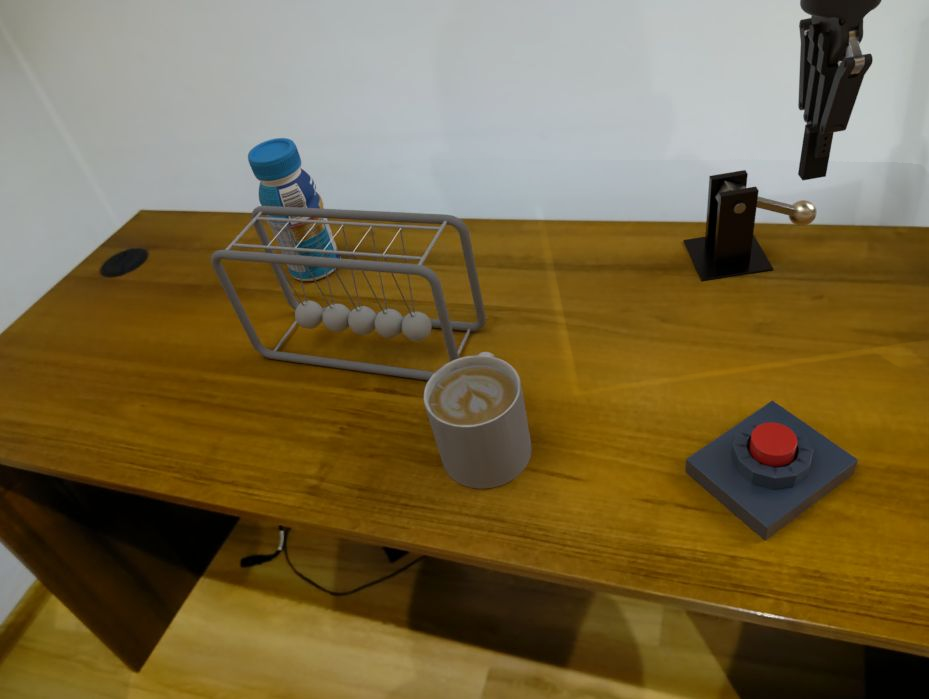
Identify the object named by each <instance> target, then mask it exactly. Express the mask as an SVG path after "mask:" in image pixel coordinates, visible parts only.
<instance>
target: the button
mask: <svg viewBox="0 0 929 699" xmlns="http://www.w3.org/2000/svg"><path fill="white" fill-rule="evenodd" d="M796 447H797V437H796V435H795V434H794V432H793V431H792V430H791V429H789V428H788V427H786V426H784V425H782V424H779V423H763V424H761V425H759V426H757V427H756V428H755V429H754V430H753V432H752V434H751V440H750V452H751V454H752V456H753V457H754V458H755V459H756V460H757V461H758V462H760V463H762V464H764V465H767V466H771V467H780V466H784V465H787V464H788V463H790V462H791V461H792V460H793V458H794V456H795V452H796Z"/></svg>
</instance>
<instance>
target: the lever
mask: <svg viewBox="0 0 929 699" xmlns="http://www.w3.org/2000/svg"><path fill="white" fill-rule="evenodd" d="M744 188H747V186H746V187H745V186H744V185H740V184H736V183H732V182H728V181H724V182H723V184H722V186H721V188H720V189H719V191H718V193H717V195H716V196H715V197H716V199H717V201H718V198H719V192H725V191H731V190H738V189H744ZM757 208H758V209H761V210H766V211H769V212H773V213H777V214H780V215H781V214H782V215H786V216H788V219H789V221H790V222H791V223H792V224H793V225H795V226H798V227H806V226H808V225H810V224H812V223H813V222H814V221H815V219H816V217H817V214H818V213H817V207H816V205H815V204H814V203H813V202H811V201H809V200H806V199H802V200H801V199H800V200H797V201H795V202H794V203H792V204H789V203H787V202H782V201H777V200H774V199H770V198H767V197H766V198H765V197H761V196H758V200H757ZM757 208H756V209H757Z"/></svg>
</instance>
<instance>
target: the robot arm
mask: <svg viewBox="0 0 929 699" xmlns="http://www.w3.org/2000/svg"><path fill="white" fill-rule="evenodd" d="M881 2H882V0H799V5H800V9H801V10H802V11H803V12H804V13H806V14H807V15H808V16H810V17H808V18H804V19H803V18H802V19H800V20H799V23H798V28H799V39H800V53H799V75H798V76H799V78H798V79H799V80H798V102H797V104H798V105H797V106H798V110H799V111H803V115H802V116H803V117H802V118H803V122H805V123H806V124H805V126H804V132H803V138H802V145H801V151H800V159H799V165H798V172H797V175H798V177H799V178H800V179H801V181H809V180H814V179H820V178H826V177H827V171H828V165H829V161H830V156H831V150H832V144H833V138H834V133H837V132H844V131H847V128H848V125H849V122H850V119H851V117H852V113H853V110H854V107H855V104H856V101H857V99H858V95H859V92H860V89H861V86H862V84H863V81H864V77H865V75H866V74H867V72H868V71H869V70H870V68H871V66H872V64H873V55H872V53H865V54H863V52H862V49H861V45H860V44H861V43H862V40H863V38H864V19H865V17H866V16H867V15H868V14H869V13H870V12H871V11H873V10H875V9H876V8H877V7H879V5H880V4H881Z"/></svg>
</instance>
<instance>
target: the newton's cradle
mask: <svg viewBox="0 0 929 699" xmlns="http://www.w3.org/2000/svg"><path fill="white" fill-rule="evenodd" d="M265 215H277V216H296V217H314V218H327V219H333V220H328V221H321V220H303V219H284V218H266V217H265ZM250 218H251V221H249V223H248V224H247V225H246V226H245V227H244V228H243V229H242V231H240V232H239V234H238V235H237V236H236V237H235V238H234V239H233V240H232V242H230V243H229V245H227V247H226V248H225V249H218V250H215V251H214V252H213V253H212V254H211V257H210V265H211V267H212V269H213V271H214V273H215V275H216V277H217V279H218V281H219V283H220V285H221V287H222V289H223V290H224V292H225V295H226V297H227V298H228V300H229V303H230V304H231V306H232V308H233V310H234V313H235V315H237V318H238V320H239V322H240V325H241V326H242V328H243V331H244V332H245V335H246V336H247V338H248V340H249V342H250V344H251V346H252V347H253V349H254V350H255V351H256V352H257V353H258V354H260V355H261V356H263V357H264V358H266V359H270V360H277V361H284V362H291V363H296V364H297V363H298V364H305V365H313V366H320V367H328V368H334V369H342V370H349V371H356V372H364V373H371V374H376V375H377V374H378V375H385V376H393V377H399V378H406V379H414V380H421V381H427V382H428V381H429V379H430V378H431V376H432V375H433V374H434V373H435V372H436V371H429V370H422V369H416V368H415V369H414V368H405V367H398V366H391V365H385V364H384V365H383V364H376V363H368V362H360V361H353V360H347V359H337V358H331V357H324V356H315V355H310V354H309V355H308V354H300V353H294V352H285V351H279V349H280V348H281V346H282V345H283V343H284V342H285V340H287V338H288V336H289V335H290V334H291V332H292V331H293V329H294V328H295V327H296V325H297V324H298V325H299V326H300V327H301V328H304V329H308V330H313V329H315V328H317V327H319V326H320V325H321V324H322V323H323V325H324V327H325V328H326V329H328V331H330V332H334V333H341V332H343V331H346V329H348V328H350V330H351V331H352V332H353V333H355V334H356V335H358V336H359V335H360V336H367V335H369V334H371V333H373V332H374V330H375V331H376V333H377V334H378V335H379V336H381V338H382V337H383V338H386V339H393V338H396V337H399V335H400V334H401V333H403V335H404V336H405V338H407V340H409V341H412V342H422V341H424V340H426V339H427V338H428V337H429V336H430V334H431V332H432V329H433V328H435V329H441V331H442V336H443V340H444V342H445V344H444V345H445V347H446V351H447V355H448V358H449V359H448V360H449V362H451V361H453V360H456V359H459V358H460V354H461V353H462V350H463V348H464V346H465V344H466V341H467V339H468V337H469V335H470V333H471V332H479V331H481V330H482V329H483V328H484V327H485V325H486V323H487V316H486V312H485V305H484V302H483V296H482V291H481V286H480V281H479V276H478V271H477V266H476V265H477V264H476V261H475V256H474V252H473V250H474V249H473V245H472V242H471V236H470V231H469V229H468V226H467V225H466V223H465V222H464V221H463V220H461V219H460V218H459V217H457V216H455V215H453V214H452V215H451V214H444V213H443V214H442V213H422V212H403V211H402V212H401V211H383V210H381V211H379V210H362V209H361V210H360V209H359V210H358V209H340V208H324V209H320V208H299V207H278V206H262V205H258V206H256V207H255V208H253V210H252V212H251V216H250ZM334 219H335V220H334ZM336 219H337V221H336ZM339 220H353V221H371V222H353V221H339ZM263 221H266V222H267V221H280V222H288V223H287V224H288V227H289V232H290V236H291V240H292V245H293V248H290V247H279V246H277V245H276V246H273V244H272V243H273V242H274V240H276V237H277V235H278V234H279V233H280V232H281V231H282V230H283V228H284V227H285V226H286V225H287V224H286V225H285V226H284V227H283V228H282V230H281V231H280V232H279V233H278V234H277V235H276V237H275V236H274V238H273V239H272V240H270V238H269V235H268V233H267V230H266V228H265V226H264V224H263ZM372 221H374V223H373V222H372ZM289 222H298V223H315V224H314V225H315V229H316V234H317V238H318V242H319V247H320V250H318V249H304V248H296V247H297V246H298V245H299V244H300V242H301V241H302V240H303V239H304V237H305V236H306V235H307V234H308V233H309V231H310V230H311V229H312V228H313V226H314V225H313V226H312V228H311V229H310V230H309V231H308V232H307V234H306V235H305V236H304V237H303V239H302V240H301V241H300V242H299V244H298V245H297V246H296V247H295V248H294V243H293V239H292V234H291V230H290V226H289ZM375 222H388V223H375ZM389 222H393V223H394V224H393V223H392V224H390V223H389ZM395 223H407V224H395ZM408 223H409V225H408ZM410 223H412V224H429V225H430V226H428V225H427V226H426V225H410ZM316 224H329V225H333V226H335V225H337V226H340V228H339V229H338V230H337V232H336V233H335V234H334V235H333V238H334V239H335V237H336V236H337V235H338V233H339V232H340V230H341V229H342V234H343V239H344V243H345V247H346V251H345V250H339V251H332V250H325V249H326V247H327V246H328V245H329V243H330V242H331V241H332V239H333V238H332V239H331V241H330V242H329V243H328V245H327V246H326V247H325V248H324V250H322V249H321V245H320V241H319V237H318V232H317V228H316ZM431 224H432V225H440V226H431ZM252 226H253V228H254V229H255V232H256V234H257V236H258V238H259V241H260V243H261V244H247V243H237V242H238V241H239V240H240V239H242V237H243V236H244V235H245V234H246V233H247V232H248V230H250V229H251V227H252ZM344 226H350V227H351V226H352V227H353V226H354V227H369V228H368V230H367V231H366V232H365V234H364V235H363V237H362V238H361V240H359V243H358V244H357V245H356V247H355V248H354V249H353V251H349V246H348V241H347V237H346V232H345V228H344ZM446 226H451V227H453V229H456V230H457V232H458V234H459V240H460V243H461V244H460V245H461V248H462V254H463V258H464V264H465V267H466V272H467V277H468V282H469V287H470V292H471V297H472V300H473V306H474V310H475V315H476V321H475V322H467V321H455V320H451V319H450V316H449V310H448V307H447V303H446V299H445V294H444V290H443V287H442V283H441V280H440V278H439V276H438V275H437V274H436V273H435V271H434V270H432V269H431V268H429V267H427V266H425V265H423V264H424V262H425V260H426V259H427V258H428V256H429V254H430V252H431V251H432V249H433V247H434V245H435V244H436V242H437V240H438V239H439V237H440V236H441V234H442V233H443V231H444V229H445V227H446ZM373 228H385V229H387V228H388V229H398V230H397V232H396V234H395V235H394V237H393V239H392V240H391V241H390V243H389V245H388V246H387V247H386V249H385V251H384V252H383V253H377V248H376V247H377V246H376V242H375V236H374V234H373V233H374V232H373ZM402 229H405V230H406V229H407V230H423V231H424V230H426V231H437V232H436V233H435V236H433V239H432V240H431V242H430V244H429V245H428V247H427V248H426V250H425V251H424V254H423V255H422V256H417V255H416V256H415V255H414V256H413V255H406V251H405V244H404V238H403V232H402ZM369 232H371V238H372V244H373V248H374V253H371V252H359V251H356V249H357V248H358V247H359V246H360V244H361V242H362V241H363V240H364V239H365V237H366V236H367V234H368V233H369ZM399 233H400V238H401V245H402V251H403V255H400V254H399V255H398V254H386V252H387V251H388V249H389V248H390V246H391V245H392V243H393V242H394V240H395V239H396V237H397V236H398V234H399ZM232 248H246V249H258V250H259V249H260V250H264V252H260V251H245V250H235V249H234V250H232ZM281 250H285V251H294V253H295V255H287V254H282V253H276V252H275V251H281ZM295 251H297V253H298V255H296V252H295ZM299 252H312V253H321V255H322V257H313V256H301V255H300V254H299ZM322 253H325V255H326V256H327V254H339V255H340V256H348V258H341V259H340V258H329V257H328V256H327V257H323V254H322ZM351 256H353V257H354V258H355V259H353V258H352V259H351ZM358 257H368V258H375V260H366V259H365V260H364V259H358ZM378 258H379V259H381V258H383V259H384V261H379V259H378ZM388 259H394V260H404V262H390V261H388ZM221 260H228V261H240V262H241V261H243V262H252V263H266V264H270V266H271V268H272V271H273V272H274V275H275V277H276V279H277V280H276V281H277V282H278V284H279V287H280V289H281V291H282V293H283V295H284V298H285V300H286V302H287V304H288V306H290V307H291V308H292V309H293V310H294V319H295V320H294V322H293V323H292V324H291V326H290V327H289V329H288V330H287V331H286V333H285V334H284V336H283V337H282V338H281V339H280V341H279V342H278V344H277V345H276V346H275V347H274V349H273V350H272V349H269V348H267V347H266V346H264V345H263V344H262V342H261V340H260V338H259V336H258V334H257V332H256V330H255V328H254V326H253V324H252V323H251V320H250V318H249V316H248V314H247V312H246V310H245V308H244V306H243V304H242V302H241V300H240V298H239V296H238V294H237V292H236V290H235V287H234V286H233V284H232V282H231V280H230V278H229V276H228V274H227V272H226V270H225V268H224V266H223V264H222V262H221ZM407 260H410V261H419V262H418V263H408V262H407ZM287 264H288V265H297V266H298V271H299V275H300V279H301V281H300V283H301V284H300V285H301V288H302V292H303V296H304V301H303V300H302V299H301V297H300V295H299V294H298V292H297V291H296V289H295V287H294V286H293V284H292V282H291V281H290V279H289V277H288V276H287V273H286V272H285V271H284V269H283V267H282V265H287ZM299 265H301V266H306V268H307V270H308V271H309V273H310V275H311V276H312V274H311V272H310V270H309V269H308V267H307V266H313V267H324V268H325V272H326V280H327V285H328V288H329V293H330V297H331V301H332V304H330V302H329V300H328V299H327V297H326V296H325V294H324V292H323V290H322V288H321V287H320V285H319V284H318V282H317V280H315V279H314V277H313V276H312V278H313V280H314V283H315V285H316V287H317V289H318V290H319V291H320V293H321V295H322V296H323V298H324V300H325V301H326V303H327V305H328V306H326V307H322V306H321V305H320V304H319V303H318V302H317V301H314V300H307V297H306V292H305V288H304V283H303V281H302V278H301V274H300V270H299ZM326 268H333V269H334V273H335V275H336V276H337V279H338V280H339V282H340V284H341V285H342V287H343V290H344V291H345V292H346V294H347V296H348V298H349V300H350V302H351V304H352V305H353V309H352V310H351V309H349V308H348V307H347V306H346V305H344V304H342V303H335V302H334V301H335V300H334V296H333V293H332V289H331V284H330V280H329V279H330V278H329V275H327V271H326ZM335 268H337V269H339V270H351V275H352V279H353V285H354V289H355V294H356V299H357V304H358V306H356V304H355V303H354V301H353V299H352V297H351V295H350V294H349V292H348V289H347V288H346V286H345V284H344V283H343V281H342V279H341V278H340V275H339V274H338V272H337V269H336V270H335ZM354 271H361V272H362V274H363V277H364V278H365V280H366V282H367V284H368V286H369V288H370V291H371V292H372V294H373V296H374V298H375V299H376V302H377V304H378V305H379V308H380V309H381V311H379V312H375V311H374V310H373V309H372V308H371V307H368V306H366V305H361V303H360V298H359V294H358V289H357V285H356V279H355V274H354ZM365 272H375V273H376V272H377V273H378V275H379V280H380V286H381V291H382V296H383V302H384V306H385V309H383V307H382V304H381V303H380V300H379V299H378V296H377V295H376V292H375V291H374V289H373V287H372V285H371V283H370V281H369V278H368V277H367V275H366V273H365ZM381 273H387V274H391V276H392V278H393V280H394V282H395V285H396V286H397V288H398V291H399V293H400V295H401V298H402V300H403V301H404V303H405V304H404V305H405V306H406V308H407V310H408V312H409V313H407V314H406V315H402V314H401V313H400V312H399V311H398V310H396V309H393V308H388V306H387V302H386V296H385V295H386V294H385V290H384V285H383V280H382V274H381ZM394 274H398V275H399V274H400V275H401V274H402V275H406V276H407V281H408V287H409V294H410V299H411V305H412V311H411V310H410V307H409V305H408V303H407V301H406V299H405V297H404V296H405V295H404V294H403V292H402V290H401V288H400V286H399V284H398V281H397V279H396V277H395V275H394ZM410 275H412V276H418V277H419V276H420V277H422V278H424V279H425V280H426V281H427V282H428V283H429V286H430V289H431V292H432V293H431V294H432V297H433V300H434V304H435V308H436V309H435V310H436V312H437V316H438V319H437V318H430V317H429V316H428V315H427V314H426V313H424V312H422V311H415V310H416V309H415V304H414V298H413V293H412V292H413V291H412V287H411V281H410ZM290 286H291V287H290ZM291 288H292V290H293V291H292V290H291ZM293 292H294V293H295V295H296V296H297V299H298V300H299V301H300V302H299V301H297V300H296V298H295V296H294V293H293ZM453 331H461V332H465V335H464V337H463V338H462V341H461V342H460V345H459V347H458V349H457V344H456V340H455V335H454V332H453Z"/></svg>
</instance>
